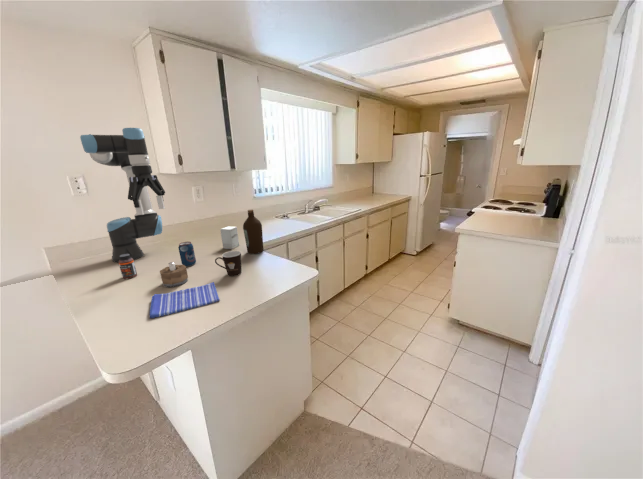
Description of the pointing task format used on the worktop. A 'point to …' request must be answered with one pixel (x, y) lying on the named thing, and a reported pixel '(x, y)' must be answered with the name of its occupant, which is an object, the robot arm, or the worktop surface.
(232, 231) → the supplement box
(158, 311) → the dish towel
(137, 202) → the robot arm
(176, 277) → the walnut ring
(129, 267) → the supplement bottle
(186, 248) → the soda can
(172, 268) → the silver peg stand
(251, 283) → the worktop surface
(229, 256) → the coffee mug
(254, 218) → the olive oil
